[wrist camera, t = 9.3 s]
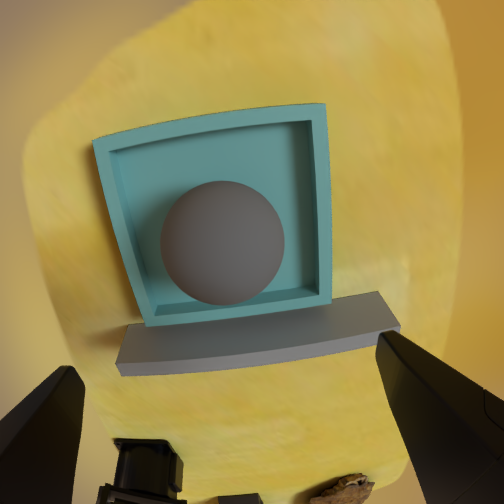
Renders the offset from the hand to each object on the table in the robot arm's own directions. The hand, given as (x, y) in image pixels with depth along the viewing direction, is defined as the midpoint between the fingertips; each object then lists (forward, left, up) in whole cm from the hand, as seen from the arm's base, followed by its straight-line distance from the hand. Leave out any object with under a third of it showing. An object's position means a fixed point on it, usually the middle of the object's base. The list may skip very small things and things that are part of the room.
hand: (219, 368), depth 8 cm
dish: (0, 0, -12) cm, 12 cm away
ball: (0, 0, -8) cm, 8 cm away
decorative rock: (+10, -47, -12) cm, 49 cm away
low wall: (+1, -8, -12) cm, 14 cm away
